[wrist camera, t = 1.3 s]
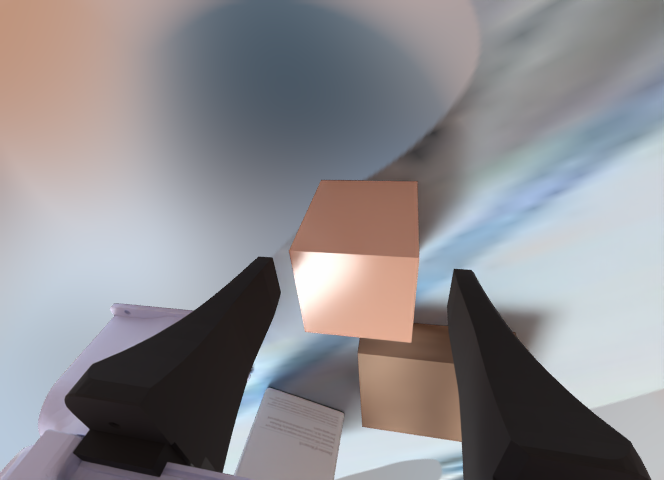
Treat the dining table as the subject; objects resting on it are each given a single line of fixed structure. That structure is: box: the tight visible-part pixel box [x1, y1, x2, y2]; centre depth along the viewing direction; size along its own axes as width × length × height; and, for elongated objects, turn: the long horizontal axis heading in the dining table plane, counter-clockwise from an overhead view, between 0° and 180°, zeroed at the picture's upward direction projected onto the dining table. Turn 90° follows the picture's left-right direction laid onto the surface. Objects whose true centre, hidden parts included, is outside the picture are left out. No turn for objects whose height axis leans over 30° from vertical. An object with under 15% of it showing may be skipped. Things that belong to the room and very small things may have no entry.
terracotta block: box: [289, 180, 419, 343], centre depth 15 cm, size 4×4×6 cm
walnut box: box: [358, 323, 516, 442], centre depth 23 cm, size 9×9×3 cm
